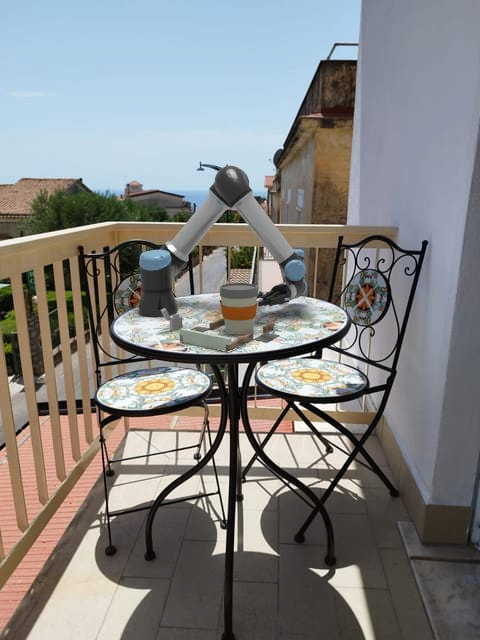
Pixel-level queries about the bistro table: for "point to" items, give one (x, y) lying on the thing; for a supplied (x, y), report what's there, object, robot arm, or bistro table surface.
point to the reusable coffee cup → (239, 307)
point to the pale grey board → (205, 339)
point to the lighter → (173, 320)
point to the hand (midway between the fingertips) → (251, 305)
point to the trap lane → (242, 340)
